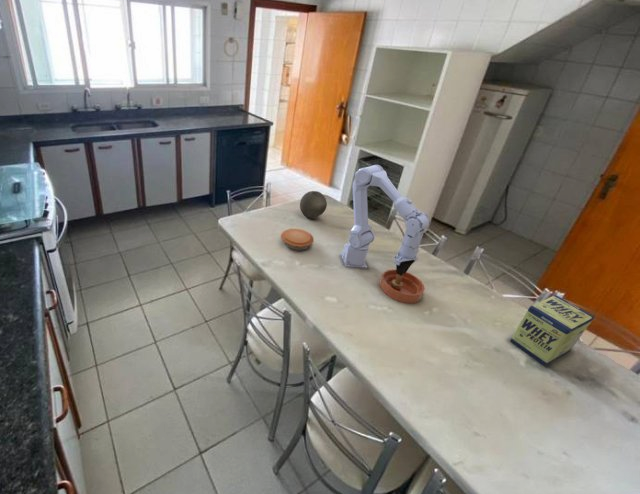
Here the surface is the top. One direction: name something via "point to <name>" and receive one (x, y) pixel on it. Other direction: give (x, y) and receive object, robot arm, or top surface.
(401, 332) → the top surface
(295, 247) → the pie
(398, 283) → the masher
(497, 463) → the top surface
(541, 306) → the protein box
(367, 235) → the robot arm
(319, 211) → the grey stone ball
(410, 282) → the bowl
